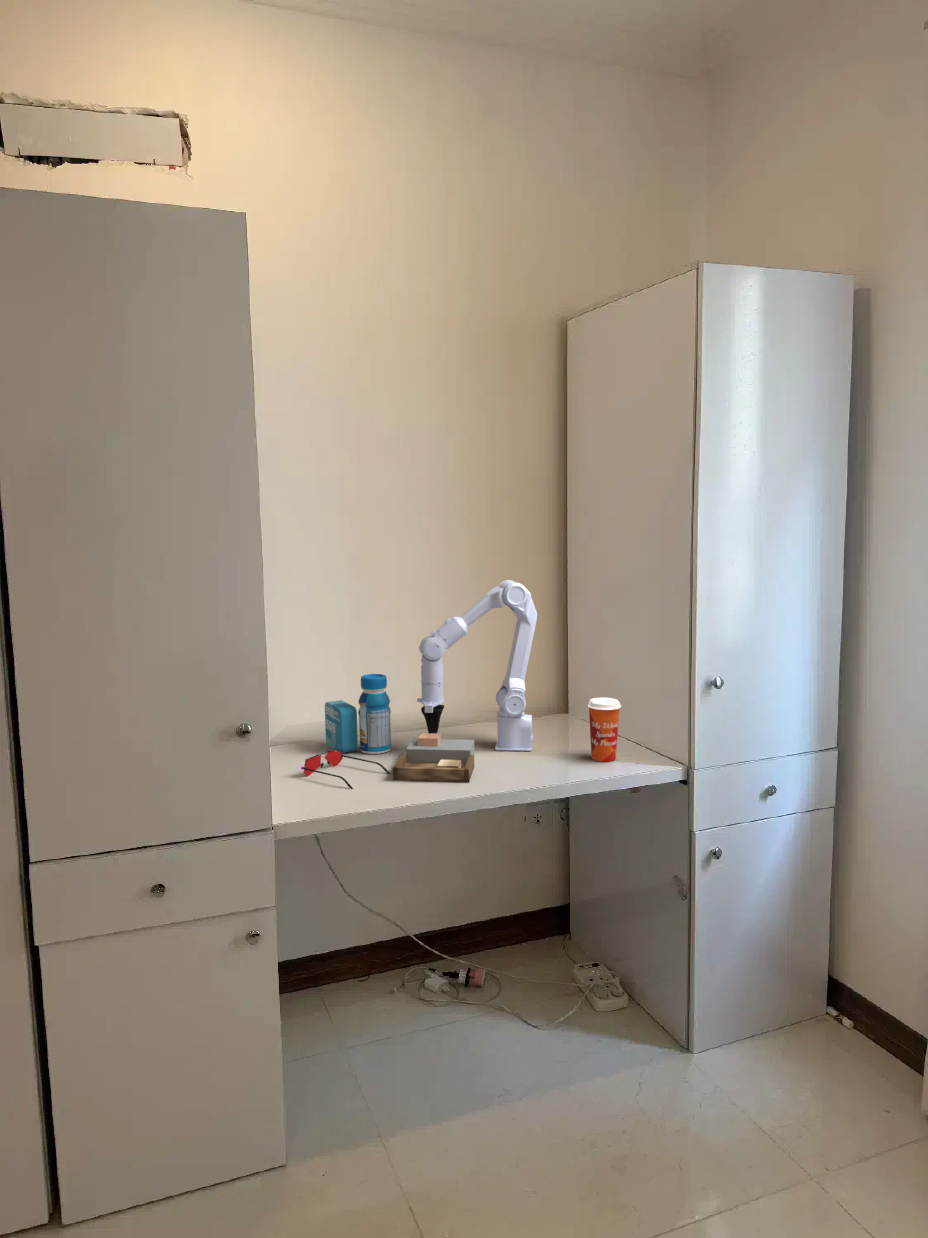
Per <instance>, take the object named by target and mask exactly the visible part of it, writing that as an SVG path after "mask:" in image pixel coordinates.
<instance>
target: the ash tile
mask: <svg viewBox="0 0 928 1238" xmlns="http://www.w3.org/2000/svg"><path fill="white" fill-rule="evenodd" d="M437 768H461V760H440V762H439V763H438V765H437Z"/></svg>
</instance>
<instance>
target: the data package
mask: <svg viewBox="0 0 928 1238" xmlns="http://www.w3.org/2000/svg"><path fill="white" fill-rule="evenodd" d="M324 723H325V724H324V726H325V727H324V728H325V742H326V744H327V746H329V747H330V748H331V749H332V750H334V749H337V750H335V751H338V752H341V750H342V752H343V754H346V752H347V753H352V752H356V751H358V749H359V745H358V743H359V742H358V741H359V740H358V711H357V708H356V706H354V705H352V704H350V703H349V702H346V701H344V700H342V699H339V700H332V701H331V700H330V701H325V703H324ZM338 748H339V749H338ZM340 749H341V750H340Z"/></svg>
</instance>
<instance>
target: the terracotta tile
mask: <svg viewBox="0 0 928 1238" xmlns="http://www.w3.org/2000/svg"><path fill="white" fill-rule="evenodd" d="M417 739H418V746H438V745H439V743H440V739H441V733H438V732H437V733H429V732H428V733H427V732H426V733H425V732H423V733H422V732H421V733H420V735H419V736H418V738H417Z"/></svg>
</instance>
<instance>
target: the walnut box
mask: <svg viewBox="0 0 928 1238" xmlns="http://www.w3.org/2000/svg"><path fill="white" fill-rule="evenodd" d="M437 765H438V763H407V753H406V752H405V753H403V752H402V753H401V754H400V755H399V757H398V759H397V760H396V761H395V763H394V765H393V767H392V781H394V780H409V782H438V783H439V782H440V783H442V782H444V783H446V782H447V783H470V782H471V778H472V774H473V772H474V769H475V754H474V755H469V757H468V760H467V763H466V764H461V768H437Z"/></svg>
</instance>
